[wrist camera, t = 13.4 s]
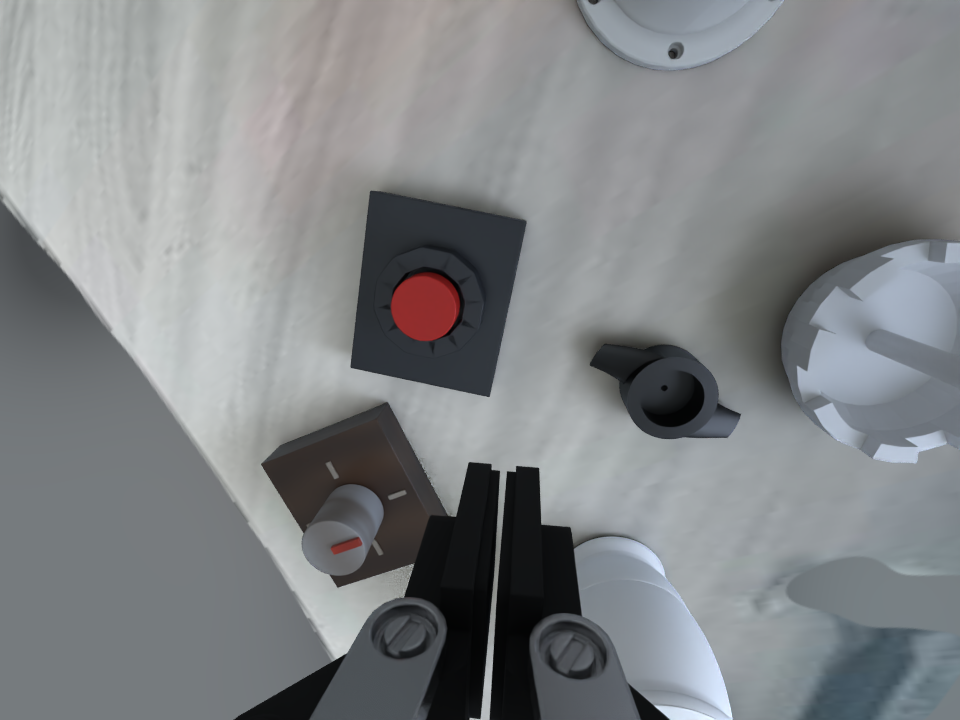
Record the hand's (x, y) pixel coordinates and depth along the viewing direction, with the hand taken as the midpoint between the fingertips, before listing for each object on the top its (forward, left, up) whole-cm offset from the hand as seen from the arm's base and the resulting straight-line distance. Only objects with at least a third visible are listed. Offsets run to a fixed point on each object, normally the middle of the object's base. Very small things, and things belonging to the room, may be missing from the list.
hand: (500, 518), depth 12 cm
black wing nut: (+5, +10, -24) cm, 27 cm away
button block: (-1, -6, -24) cm, 25 cm away
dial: (+15, -12, -21) cm, 28 cm away
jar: (+22, +8, -24) cm, 34 cm away
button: (-1, -6, -20) cm, 21 cm away
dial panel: (+15, -12, -24) cm, 31 cm away
